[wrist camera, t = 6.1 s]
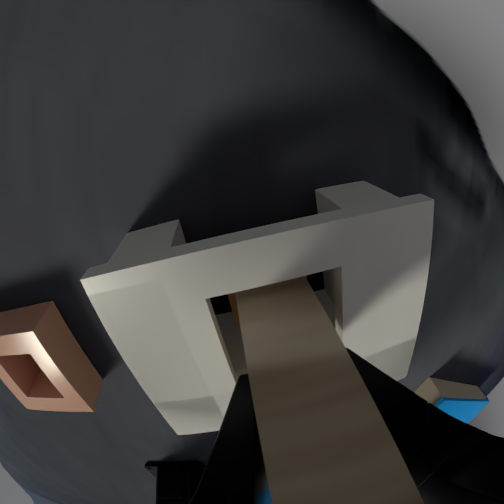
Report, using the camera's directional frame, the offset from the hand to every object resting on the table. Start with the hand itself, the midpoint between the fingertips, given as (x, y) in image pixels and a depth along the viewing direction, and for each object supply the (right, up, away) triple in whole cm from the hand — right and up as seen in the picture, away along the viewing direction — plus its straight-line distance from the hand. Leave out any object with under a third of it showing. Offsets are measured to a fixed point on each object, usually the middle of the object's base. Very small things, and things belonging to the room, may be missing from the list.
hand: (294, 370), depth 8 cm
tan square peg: (-1, +2, +5) cm, 5 cm away
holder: (-16, -3, +7) cm, 18 cm away
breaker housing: (-1, +3, +7) cm, 7 cm away
